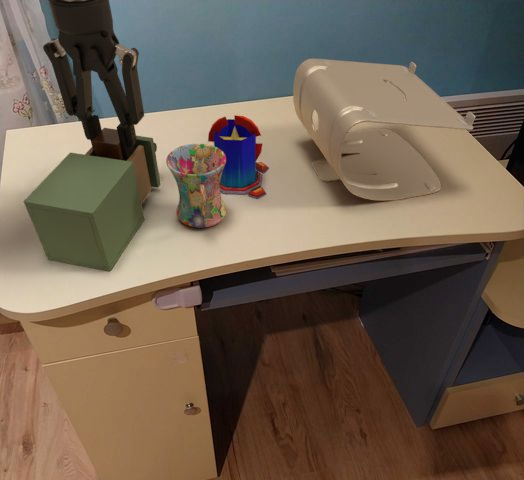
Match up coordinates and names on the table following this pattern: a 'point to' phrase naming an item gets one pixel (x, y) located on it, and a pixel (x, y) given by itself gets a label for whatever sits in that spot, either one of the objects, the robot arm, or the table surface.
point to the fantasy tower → (239, 156)
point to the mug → (198, 183)
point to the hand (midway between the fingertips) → (116, 159)
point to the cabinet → (87, 210)
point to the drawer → (143, 165)
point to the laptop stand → (376, 111)
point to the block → (108, 144)
